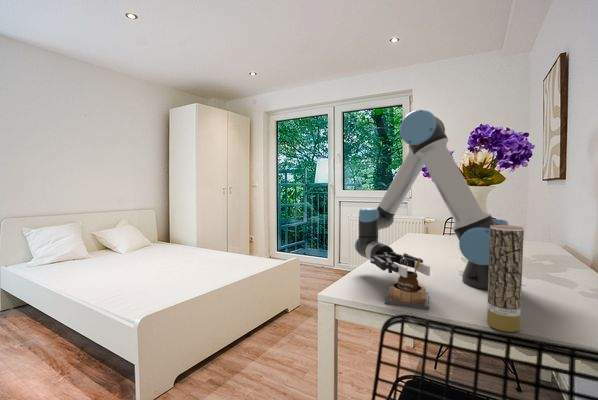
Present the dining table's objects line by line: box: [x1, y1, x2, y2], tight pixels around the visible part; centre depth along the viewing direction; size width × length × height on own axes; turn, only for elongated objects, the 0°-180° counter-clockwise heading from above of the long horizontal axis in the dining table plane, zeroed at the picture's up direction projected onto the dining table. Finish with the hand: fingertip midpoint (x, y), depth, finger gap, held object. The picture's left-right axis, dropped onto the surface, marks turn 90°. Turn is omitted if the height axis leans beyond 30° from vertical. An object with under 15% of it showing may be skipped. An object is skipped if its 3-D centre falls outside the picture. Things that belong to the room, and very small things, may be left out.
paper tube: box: [486, 224, 525, 333], centre depth 75 cm, size 7×7×25 cm
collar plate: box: [383, 280, 429, 311], centre depth 94 cm, size 12×12×4 cm
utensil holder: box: [397, 257, 422, 291], centre depth 94 cm, size 6×6×12 cm
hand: (417, 271), depth 89 cm, fingers open, 7 cm apart
